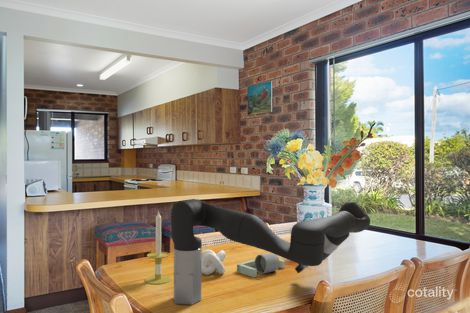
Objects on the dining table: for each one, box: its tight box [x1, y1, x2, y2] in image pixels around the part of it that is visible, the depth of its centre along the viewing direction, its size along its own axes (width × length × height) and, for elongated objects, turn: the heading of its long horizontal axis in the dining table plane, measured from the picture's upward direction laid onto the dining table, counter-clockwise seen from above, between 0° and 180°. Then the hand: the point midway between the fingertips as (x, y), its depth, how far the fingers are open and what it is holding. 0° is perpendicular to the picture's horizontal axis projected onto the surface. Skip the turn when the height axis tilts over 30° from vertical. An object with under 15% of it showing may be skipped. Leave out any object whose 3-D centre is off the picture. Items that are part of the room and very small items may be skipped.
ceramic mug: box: [254, 253, 280, 275], centre depth 152 cm, size 11×8×8 cm
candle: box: [144, 210, 172, 286], centre depth 140 cm, size 10×10×27 cm
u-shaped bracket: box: [236, 258, 286, 278], centre depth 154 cm, size 10×19×3 cm, turn 133°
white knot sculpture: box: [201, 249, 227, 276], centre depth 149 cm, size 11×12×9 cm
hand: (297, 270), depth 140 cm, fingers closed
